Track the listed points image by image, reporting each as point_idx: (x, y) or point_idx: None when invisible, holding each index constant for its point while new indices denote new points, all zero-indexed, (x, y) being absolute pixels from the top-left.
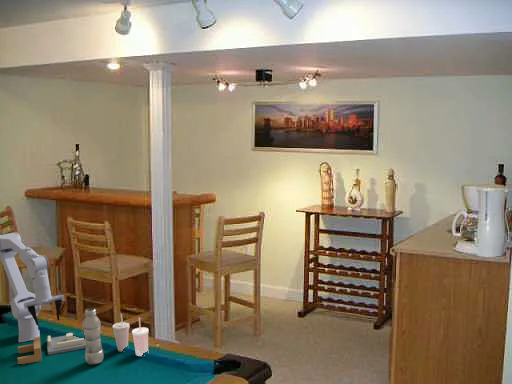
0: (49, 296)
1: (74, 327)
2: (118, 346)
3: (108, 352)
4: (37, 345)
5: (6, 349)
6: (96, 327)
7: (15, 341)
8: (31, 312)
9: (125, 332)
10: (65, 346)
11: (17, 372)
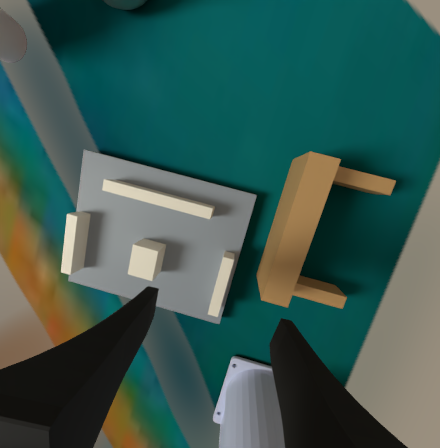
0: None
1: None
2: (2, 12)
3: (62, 52)
4: (310, 192)
5: (353, 351)
6: None
7: None
8: (387, 440)
9: None
10: (184, 198)
11: (408, 109)
